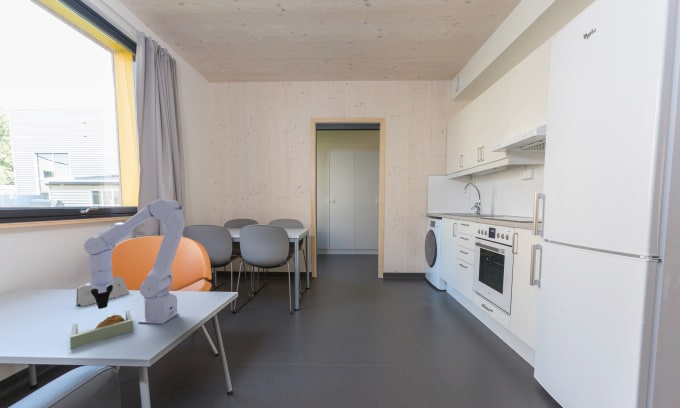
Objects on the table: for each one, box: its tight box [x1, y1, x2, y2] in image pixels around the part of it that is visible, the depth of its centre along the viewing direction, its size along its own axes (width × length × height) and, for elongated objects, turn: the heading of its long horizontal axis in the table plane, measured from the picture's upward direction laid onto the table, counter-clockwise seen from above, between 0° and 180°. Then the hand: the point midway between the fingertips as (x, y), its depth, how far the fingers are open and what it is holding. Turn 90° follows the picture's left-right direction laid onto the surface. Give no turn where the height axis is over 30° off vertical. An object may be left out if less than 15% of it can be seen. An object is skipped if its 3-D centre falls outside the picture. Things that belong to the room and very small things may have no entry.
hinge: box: [75, 276, 130, 308], centre depth 109 cm, size 17×5×10 cm, turn 153°
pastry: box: [94, 314, 126, 329], centre depth 81 cm, size 9×7×4 cm
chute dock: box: [69, 310, 134, 350], centre depth 80 cm, size 12×14×4 cm
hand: (102, 307), depth 87 cm, fingers closed
